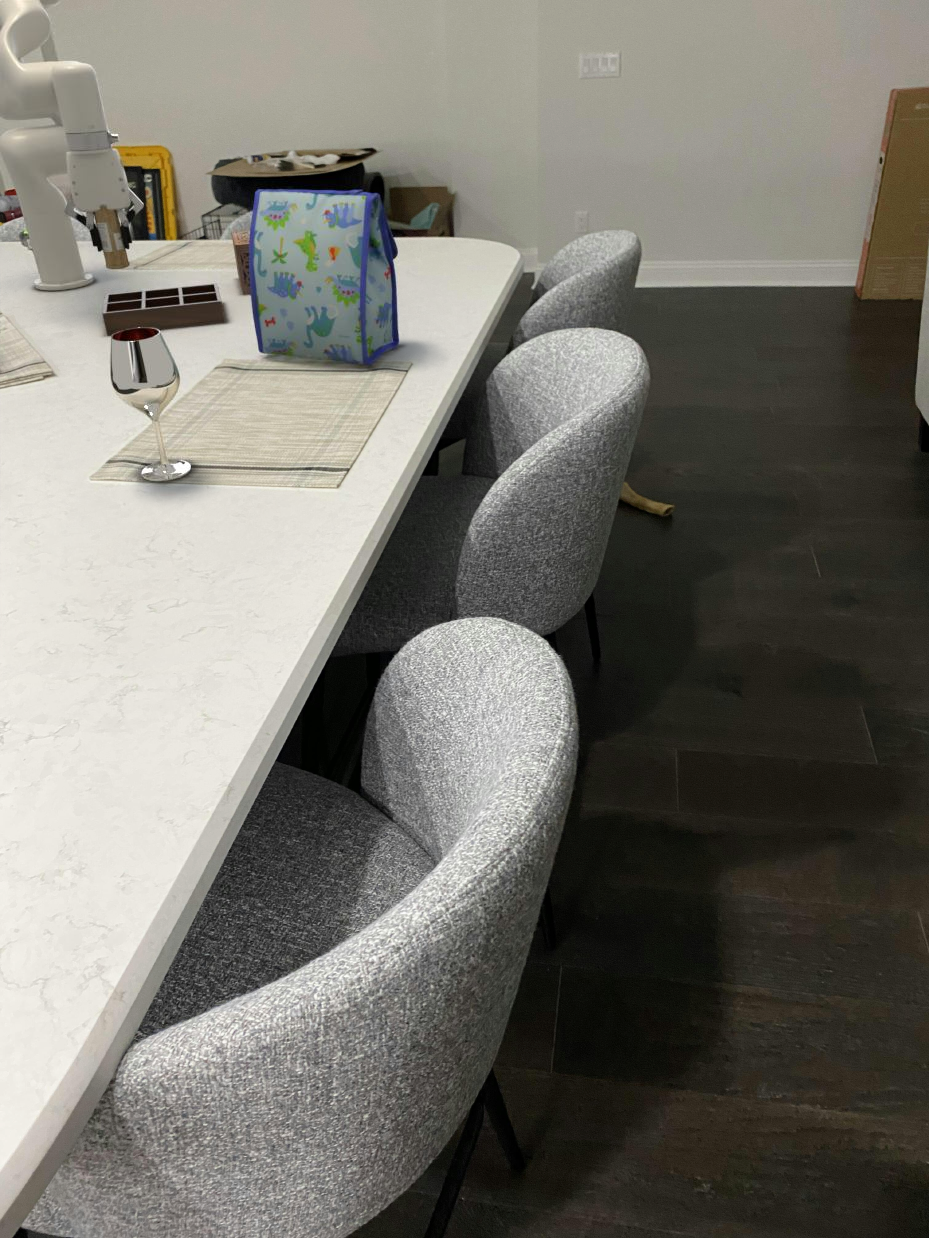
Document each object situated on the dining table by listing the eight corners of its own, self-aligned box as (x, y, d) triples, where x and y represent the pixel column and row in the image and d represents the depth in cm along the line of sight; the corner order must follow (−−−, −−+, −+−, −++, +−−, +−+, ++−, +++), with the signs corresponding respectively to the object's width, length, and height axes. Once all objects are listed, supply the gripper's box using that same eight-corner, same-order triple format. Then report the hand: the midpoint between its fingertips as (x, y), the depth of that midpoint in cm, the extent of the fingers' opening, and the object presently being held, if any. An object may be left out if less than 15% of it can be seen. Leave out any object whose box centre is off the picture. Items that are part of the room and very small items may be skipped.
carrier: (110, 315, 187) (105, 294, 185) (220, 303, 192) (217, 283, 189) (107, 335, 175) (102, 313, 173) (225, 322, 180) (221, 301, 177)
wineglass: (141, 460, 125) (109, 326, 115) (202, 456, 125) (175, 323, 116) (128, 486, 118) (92, 346, 108) (193, 482, 119) (163, 342, 109)
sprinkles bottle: (133, 267, 179) (116, 191, 171) (109, 271, 177) (91, 195, 169) (126, 263, 182) (109, 189, 174) (103, 267, 180) (84, 192, 172)
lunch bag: (408, 340, 166) (398, 182, 151) (371, 370, 153) (355, 200, 138) (298, 333, 172) (278, 179, 158) (253, 361, 159) (226, 197, 145)
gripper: (137, 137, 172) (159, 241, 182) (42, 144, 169) (69, 249, 179) (137, 141, 166) (159, 249, 176) (38, 148, 163) (66, 257, 173)
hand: (113, 248), depth 177 cm, fingers closed on sprinkles bottle, 4 cm apart
